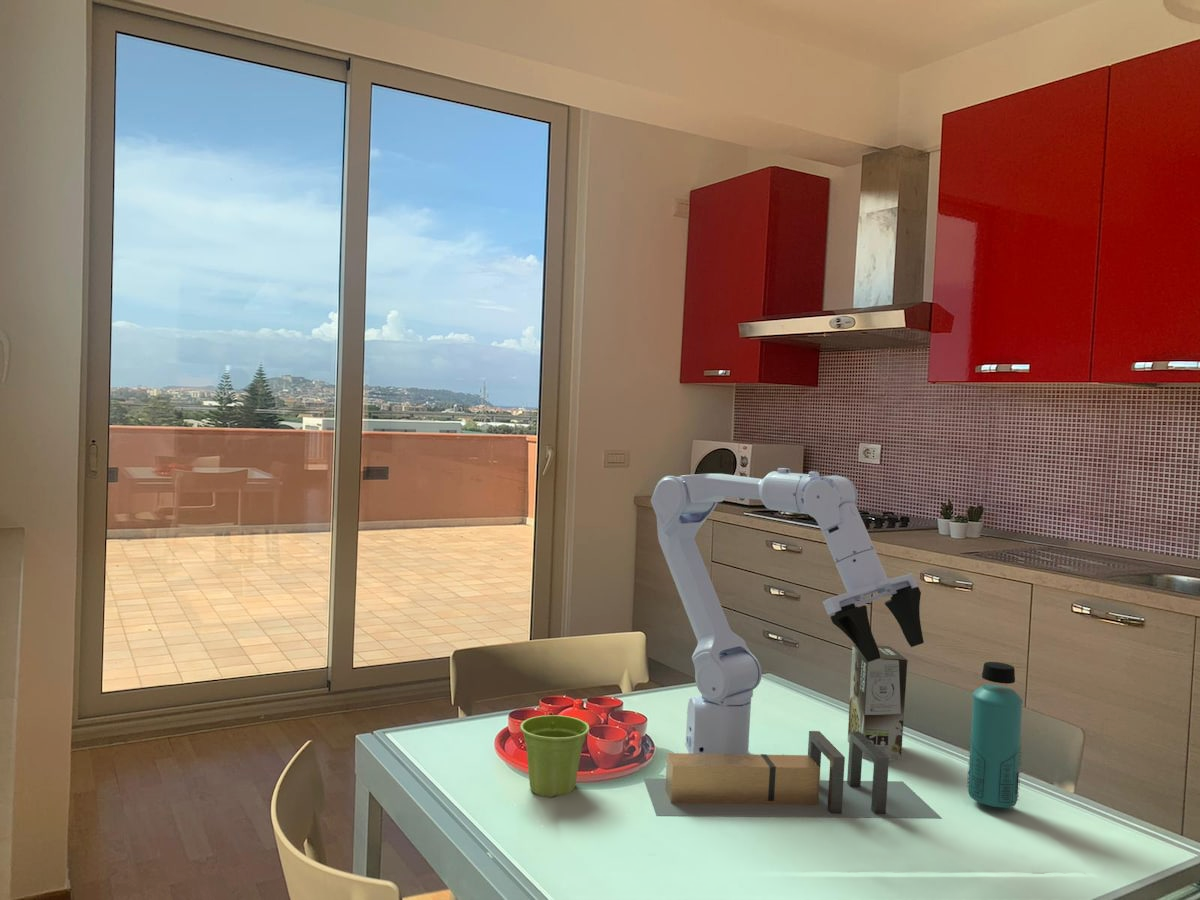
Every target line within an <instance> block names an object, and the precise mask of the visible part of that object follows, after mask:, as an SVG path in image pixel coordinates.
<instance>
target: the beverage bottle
mask: <svg viewBox="0 0 1200 900" xmlns="http://www.w3.org/2000/svg"><path fill="white" fill-rule="evenodd" d="M982 668H983V669H982V673H981V678H982V679H983V680H986V681H989V682H991V683H992V682H993V683H997V684H1006V685H1007V684H1014V683H1015V682H1016V677H1015V676H1016V675H1015V674H1016V671H1015V667H1014V666H1013V665H1011V664H1008V663H1005V662H998V661H986V662H984V663H983V667H982ZM997 684H983V685H982V686H979V687H978V688H977V689H975V690H974V691H973V693H972V715H971V728H970V740H969V745H968V748H969V756H968V757H969V760H968V762H967V765H968V771H967V774H968V777H967V783H966V785H967V786H966V787H967V788H966V790H967V792H968V795H969V798H971V799H973V800H974V801H976V802H977V803H981V804H983V805H986V806H989V807H996V808H1011V807H1014V806H1016V805H1017V802H1018V799H1019V790H1020V787H1019V786H1020V783H1021V781H1020V780H1021V779H1020V774H1021V771H1020V768H1021V764H1022V762H1021V761H1022V760H1021V758H1022V751H1021V749H1022V748H1021V747H1022V743H1021V739H1022V734H1021V732H1022V711H1023V699H1022V698H1021V696H1020V695H1019V694H1018V692H1016V691H1015V690H1014V689H1013V688H1010V687H1007V686H1002V685H997Z"/></svg>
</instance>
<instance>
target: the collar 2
mask: <svg viewBox="0 0 1200 900" xmlns="http://www.w3.org/2000/svg"><path fill="white" fill-rule="evenodd" d="M848 743H849V744H848V745H849V746H848V760H847V761H848V762H847V779H846V781H847V784H848V785H849V786H850V787H860V785H861V781H862V780H861V779H862V764H863V758H862V751H863V752H864V753H865V754H866V755H867V756H868V757H869V758H870V759H869V760H871V761H872V762H873V770H872V771H873V775H872V781H873V786H872V803H871V811H872V812H873V813H874V814H886V800H887V783H888V781H889V778H888V777H889V765H890V763H889V762H890V760H889V757H887V756H886V755H885V754H884V753H883V752H882V751H881V750H880V749H879V748H877V747H876V746H875V745H874V744H873V743H872V742H871V741H870V740H869V739H868V738H866V737H865V736H864V735H863V734H862V733H861V732H850V741H849V742H848Z"/></svg>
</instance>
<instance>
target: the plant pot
mask: <svg viewBox="0 0 1200 900" xmlns="http://www.w3.org/2000/svg"><path fill="white" fill-rule="evenodd" d="M519 729H520V731H521V732H522V733H523V740H524V742H525V746H526V747H525V748H526V757H527V768H528V780H529V788H530V789H531V791H532V793H534V794H536V795H539V796H543V797H547V798H549V797H550V798H552V797H554V796H563V795H568V794H569V793H572V792H574V790H575V789H576V784H577V776H578V771H579V766H580V760H581V754H582V749H583V744H584V742H585V740H586V736H587V734H588V733H589V731H590V726H589V724H588V722H586V721H583V720H582V719H580V718H577V717H572V716H568V715H561V714H559V715H558V714H557V715H556V714H555V715H553V714H552V715H551V714H547V715H546V714H545V715H539V716H533V717H530V718H527V719H525V720H523V721H522V722H521V723H520V727H519Z"/></svg>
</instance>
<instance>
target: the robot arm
mask: <svg viewBox="0 0 1200 900" xmlns="http://www.w3.org/2000/svg"><path fill="white" fill-rule="evenodd" d="M858 495H859V494H858V490H857V488H856V486H855V484H854V483H853V481H851V480H850V479H849V478H847V477H844V476H840V475H839V474H833V475H825V476H822V475H820V473H819V471H809V472H808V473H799V472H791V469H790V468H789V467H788V468H786V467H778V468H777V471H775V470H773V471H770V472H768V473H767V474H766V475H765V476H764V477H763V478H756V477H749V476H742V475H734V474H727V473H726V474H725V473H698V474H685V475H679V476H675V475H666V476H664V477H662V478H661V479H660V480H659V481H658V482H657V484H656V485H655V488H654V491H653V493H652V496H651V498H650V503H651V506H652V509H653V511H654V514H655V516H656V527H657V528H656V530H657V539H658V543H659V545H660V549H661V550H662V553H663V555H664V558H665V561H666V564H667V566H668V568H669V572H670V574H671V577H672V580H673V581H674V583H675V587H676V589H677V591H678V595H679V597H680V599H681V602H682V605H683V607H684V610H685V613H686V615H687V618H688V620H689V623H690V626H691V628H692V630H693V633H694V636H695V638H696V641H697V645H696V647H695V648H694V649H695V650H694V652H693V653H692V656H691V661H692V663H693V666H694V673H695V674H694V675H695V676H694V677H695V680H694V681H695V684H696V688H697V690H698V691H699V693H700V694H701V696H696V697H691V698H689V699H688V702H687V712H686V713H687V715H686V730H685V731H686V732H685V742H684V746H685V748H686V750H687V752H688V753H689V754H751V752H750V750H749V746H750V745H749V744H750V727H751V708H752V698H753V695H754V690H755V689H756V688H757V687H759V685H760V683H761V681H762V673H763V672H762V666H761V664H760V661H759V660H758V658H757V657H756V656H755V654H753V652H751V651H750V649H749V647H748V646H747V643H746V641H745V639H743V638H742V637H741V636H740V635H738V634H737V633H735V632H734V631H733V630H732V629H731V626H730V623H729V622H728V620H727V616H726V614H725V612H724V609H723V607H722V604H721V602H720V599H719V598H718V595H717V592H716V590H715V587H714V584H713V582H712V580H711V579H712V578H711V577H710V574H709V572H708V569H707V567H706V565H705V561H704V560H703V557H702V554H701V552H700V549H699V547H698V544H697V542H696V536H697V534H698V531H699V530H700V528H701V527H702V525H703V524H704V523H705V521H706V520H707V519H708V518H709V517H710V515H711V514H712V513H713V511H714V510H715V509H716V506H717V505H718V503H722V502H724V501H725V500H724V499H725V498H734V499H747V500H748V499H749V500H760V501H761V503H762V504H763V505H764V507H765V508H766V509H767V510H770V511H779V512H786V513H787V512H788V513H793V514H794V513H796V514H804V515H808V516H810V517H812V518H813V519H814V520H815V521H816V523H817V524H818V527H819V528H820V530H821V533H822V535H823V537H824V538H823V539H824V540H825V543H826V545H827V547H828V549H829V552H830V554H831V557H832V559H833V562H834V564H835V567H836V569H837V572H838V574H839V576H840V580H841V581H842V583H843V586H844V588H845V591H846V592H844V593H841V594H838V595H835V596H832V597H829V598H828V599H826V600H823V601H822V604H823V607H824V609H825V611H826V614H827V616H830V615H831V616H830V620H831V622H832V624H834V625H835V626H836V627H837V628H839V630H840V631H842V632H843V633H844V634H845V635H846V636H847V637H848V638H849V639H850V640H851V642H852V643H853V645H856V646H857V648H858V649H859V650H860V652H861V653H862V654H863V656H864V657H865V659H866V660H867V662H870V661H873V660H876V659H879V658H880V653H879V650H878V647H877V646H878V645H877V642H876V639H875V638H874V634H873V632H872V628H871V625H870V621H869V617H868V616H869V615H868V609H867V606H866V605H864V604H867V603H871V602H874V601H877V600H881V599H882V598H887V597H890V596H891V597H890V599H888V600H886V601H884V606H886V607H887V608H888V610H889V611H890V613H891V614H892V615H893V616H894V619H895V620H896V622H897V623H898V625H899V627H900V630H901V631H902V633H903V636H904V638H905V640H906V642H907V644H908V645H909V646H910V648H913V647H916V646H919V645H922V644H924V642H925V640H924V636H923V631H922V625H921V617H920V616H921V615H920V606H921V596H922V592H921V590H920V588H919V585H918V583H917V580H916V578H915V576H914V574H913V573H912V572H911V573H908V574H905V575H900V576H896V577H895V576H894V577H892V578H891V577H888V576H887V574H886V571H885V568H884V567H883V565H882V562H881V560H880V558H879V555H878V553H877V550H876V548H875V546H874V544H873V542H872V538H871V537H870V534H869V532H868V530H867V528H866V525H865V523H864V521H863V519H862V515H861V514H860V512H859V509H858V507H857V503H858V500H859V498H858ZM876 593H877V595H873V596H871V597H867V596H869V595H872V594H876ZM865 597H867V598H865Z"/></svg>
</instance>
